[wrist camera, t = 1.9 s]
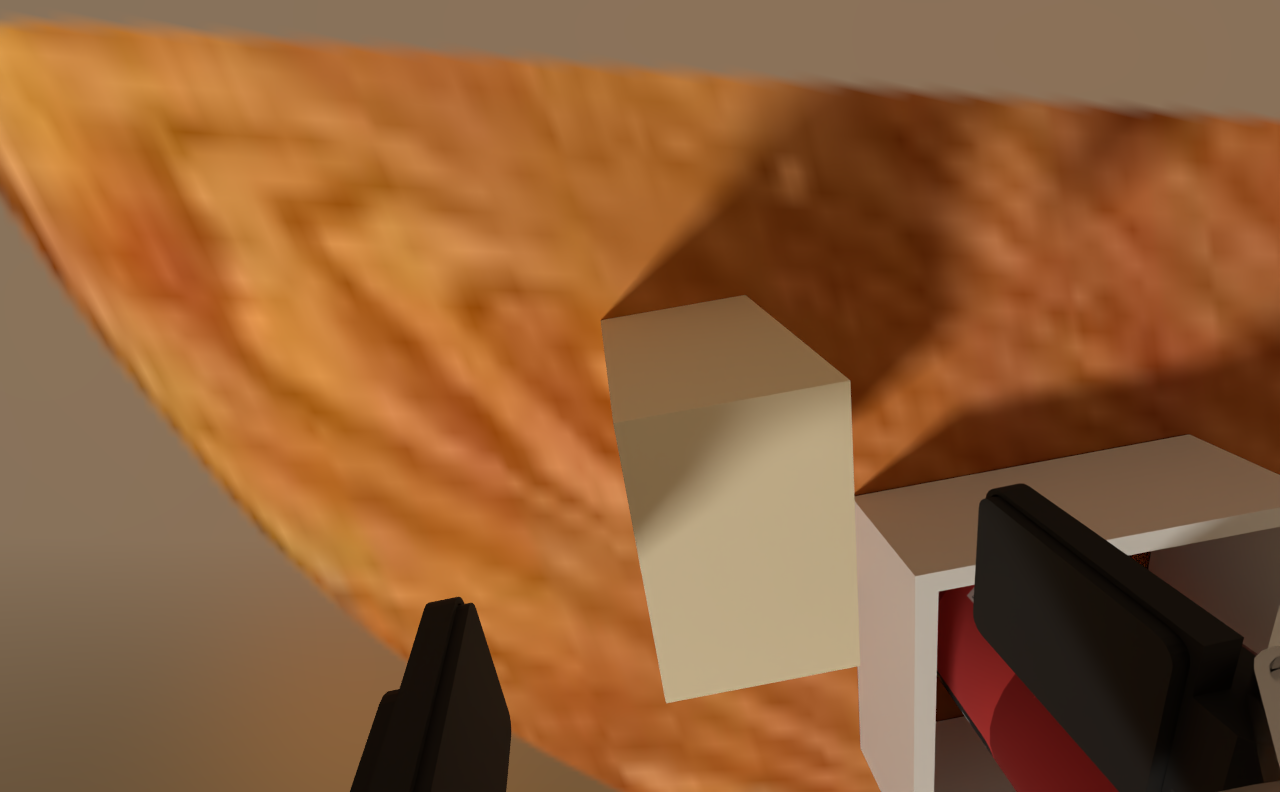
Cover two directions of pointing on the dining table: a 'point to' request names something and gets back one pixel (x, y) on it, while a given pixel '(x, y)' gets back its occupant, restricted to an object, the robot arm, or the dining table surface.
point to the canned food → (1007, 708)
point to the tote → (1101, 500)
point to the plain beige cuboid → (736, 494)
